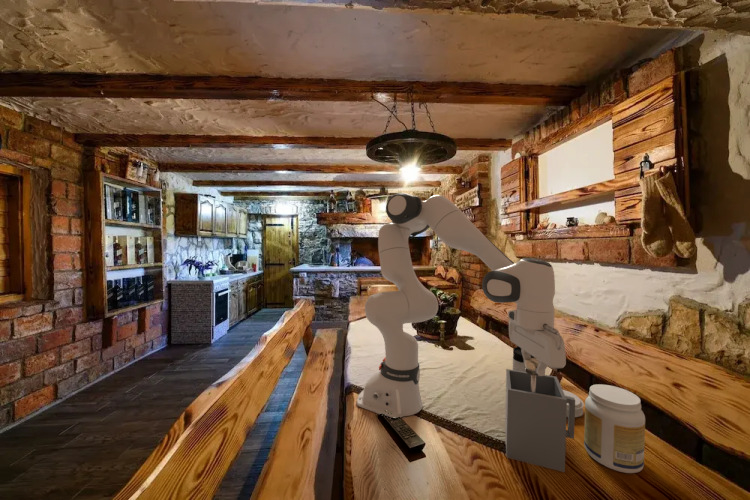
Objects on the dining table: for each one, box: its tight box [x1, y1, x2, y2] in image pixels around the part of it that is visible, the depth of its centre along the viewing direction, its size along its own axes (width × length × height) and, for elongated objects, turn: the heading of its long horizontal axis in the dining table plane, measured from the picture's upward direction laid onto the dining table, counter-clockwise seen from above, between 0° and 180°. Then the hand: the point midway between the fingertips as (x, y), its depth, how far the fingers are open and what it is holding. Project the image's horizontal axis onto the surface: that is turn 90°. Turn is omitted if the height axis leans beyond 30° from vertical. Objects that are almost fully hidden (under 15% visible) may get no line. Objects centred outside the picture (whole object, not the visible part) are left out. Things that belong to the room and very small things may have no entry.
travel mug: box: [512, 345, 535, 372], centre depth 100 cm, size 6×7×20 cm
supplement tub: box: [583, 383, 646, 474], centre depth 77 cm, size 12×12×17 cm
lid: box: [562, 389, 585, 418], centre depth 100 cm, size 13×13×5 cm
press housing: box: [504, 368, 576, 473], centre depth 80 cm, size 16×13×18 cm
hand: (533, 370), depth 80 cm, fingers closed on plunger, 4 cm apart
